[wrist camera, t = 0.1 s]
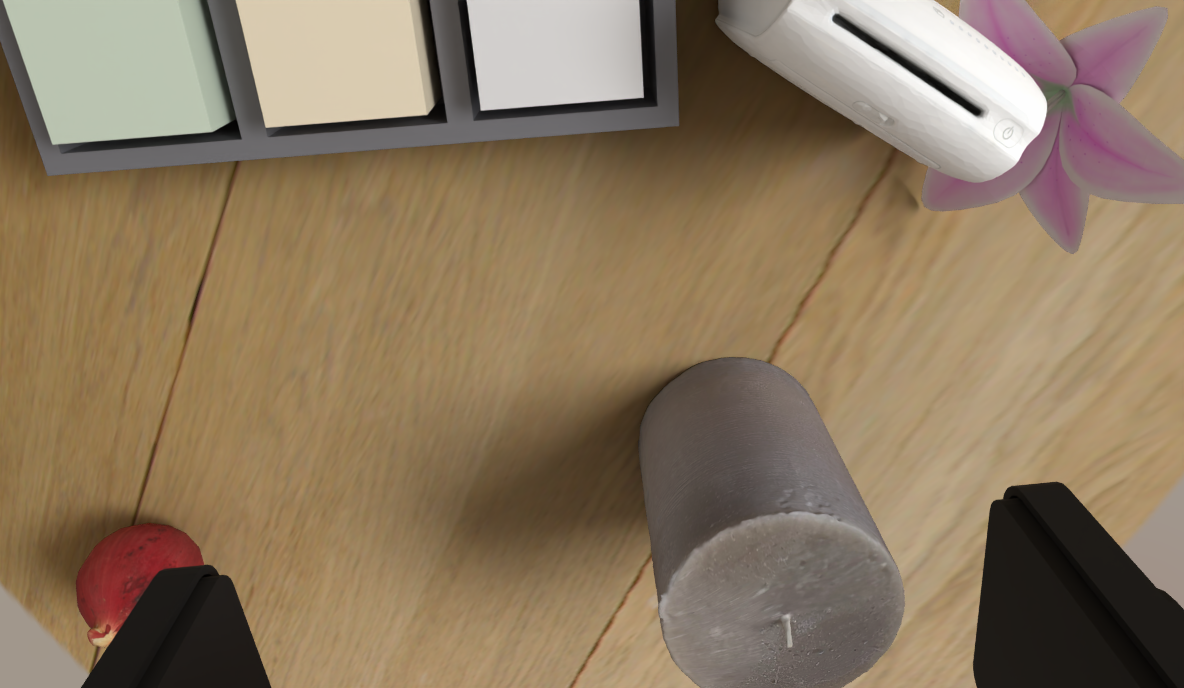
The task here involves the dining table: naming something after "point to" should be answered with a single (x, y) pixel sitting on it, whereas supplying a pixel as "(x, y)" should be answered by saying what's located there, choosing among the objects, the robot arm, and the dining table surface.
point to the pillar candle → (760, 535)
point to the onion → (127, 573)
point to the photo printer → (900, 76)
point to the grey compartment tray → (442, 125)
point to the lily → (1072, 121)
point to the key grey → (555, 51)
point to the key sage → (122, 67)
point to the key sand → (340, 59)
